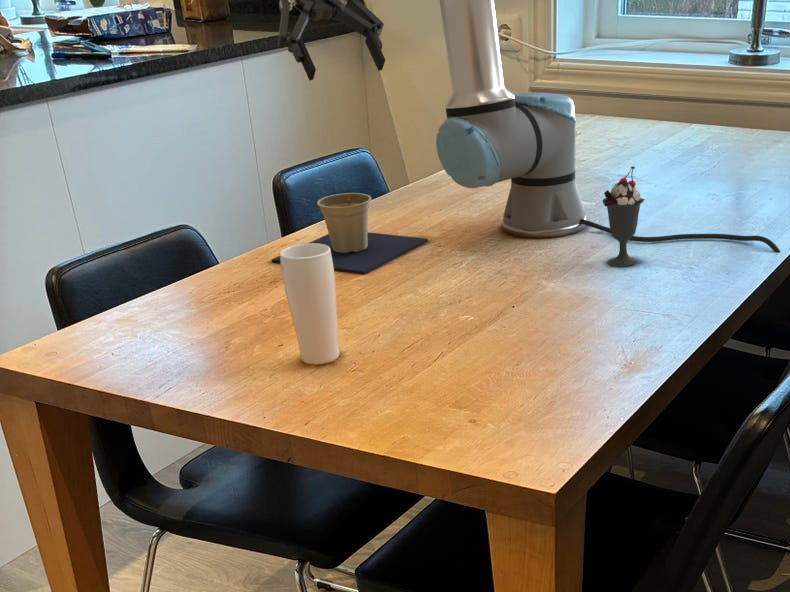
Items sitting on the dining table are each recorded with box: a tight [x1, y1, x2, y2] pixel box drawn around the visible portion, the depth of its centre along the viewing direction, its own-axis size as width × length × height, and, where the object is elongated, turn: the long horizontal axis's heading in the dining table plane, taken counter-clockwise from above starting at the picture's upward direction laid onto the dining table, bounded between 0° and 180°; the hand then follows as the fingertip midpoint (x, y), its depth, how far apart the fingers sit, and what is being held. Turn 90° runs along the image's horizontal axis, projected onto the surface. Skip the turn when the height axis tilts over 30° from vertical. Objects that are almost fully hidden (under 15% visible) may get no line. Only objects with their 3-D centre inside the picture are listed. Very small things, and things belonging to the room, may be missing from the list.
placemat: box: [270, 232, 429, 275], centre depth 185 cm, size 20×20×1 cm
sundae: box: [602, 166, 645, 268], centre depth 167 cm, size 7×7×15 cm
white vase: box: [278, 242, 341, 366], centre depth 138 cm, size 7×7×15 cm
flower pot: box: [316, 192, 372, 253], centre depth 183 cm, size 9×9×9 cm
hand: (347, 70), depth 186 cm, fingers open, 13 cm apart
